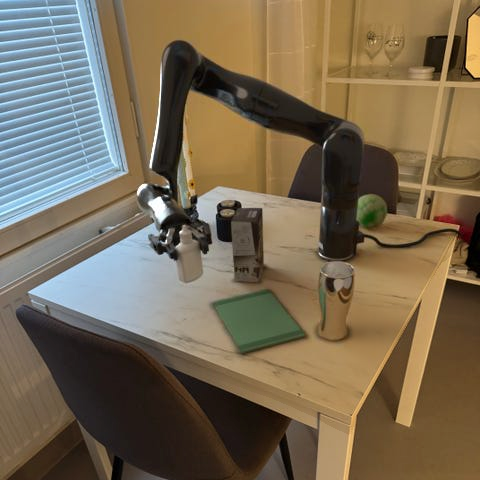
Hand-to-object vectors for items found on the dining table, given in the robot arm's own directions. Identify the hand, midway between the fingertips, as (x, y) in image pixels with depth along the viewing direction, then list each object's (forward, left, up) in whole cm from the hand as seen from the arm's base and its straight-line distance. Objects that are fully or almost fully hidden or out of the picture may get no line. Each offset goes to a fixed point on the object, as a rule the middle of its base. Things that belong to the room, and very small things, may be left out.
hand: (190, 253), depth 93 cm
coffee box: (-18, -15, -17) cm, 29 cm away
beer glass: (-25, +15, -17) cm, 34 cm away
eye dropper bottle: (0, -2, -7) cm, 8 cm away
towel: (-12, +5, -17) cm, 21 cm away
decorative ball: (-60, -26, -17) cm, 68 cm away
